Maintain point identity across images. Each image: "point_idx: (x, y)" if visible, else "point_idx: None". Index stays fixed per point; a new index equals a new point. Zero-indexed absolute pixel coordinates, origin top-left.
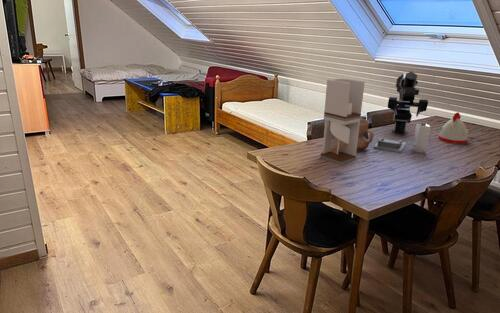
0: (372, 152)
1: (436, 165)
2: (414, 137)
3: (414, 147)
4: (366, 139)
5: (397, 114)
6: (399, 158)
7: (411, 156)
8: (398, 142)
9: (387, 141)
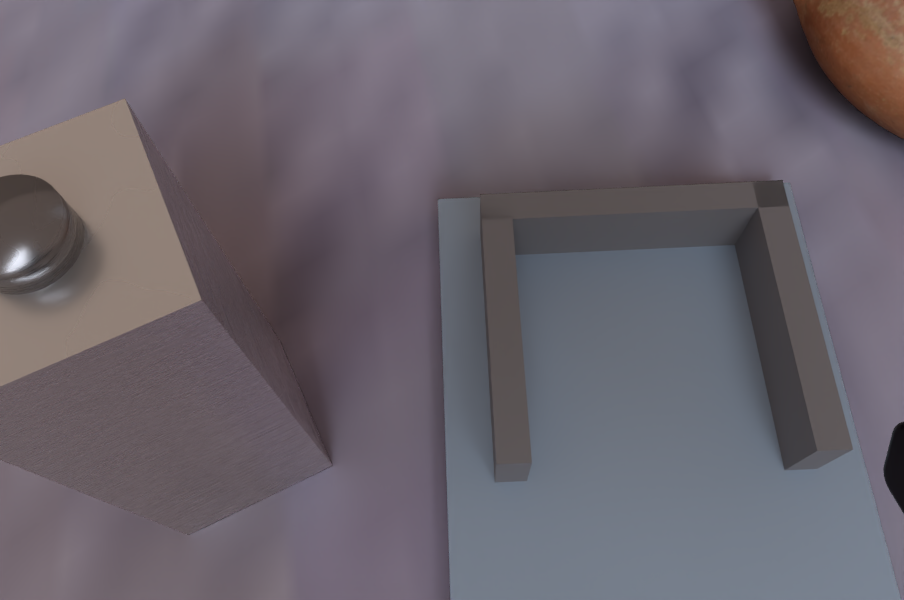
0: (715, 51)
1: (63, 33)
2: (285, 398)
3: (291, 379)
4: (895, 12)
5: (893, 451)
6: (416, 29)
7: (309, 151)
8: (514, 275)
9: (737, 530)
